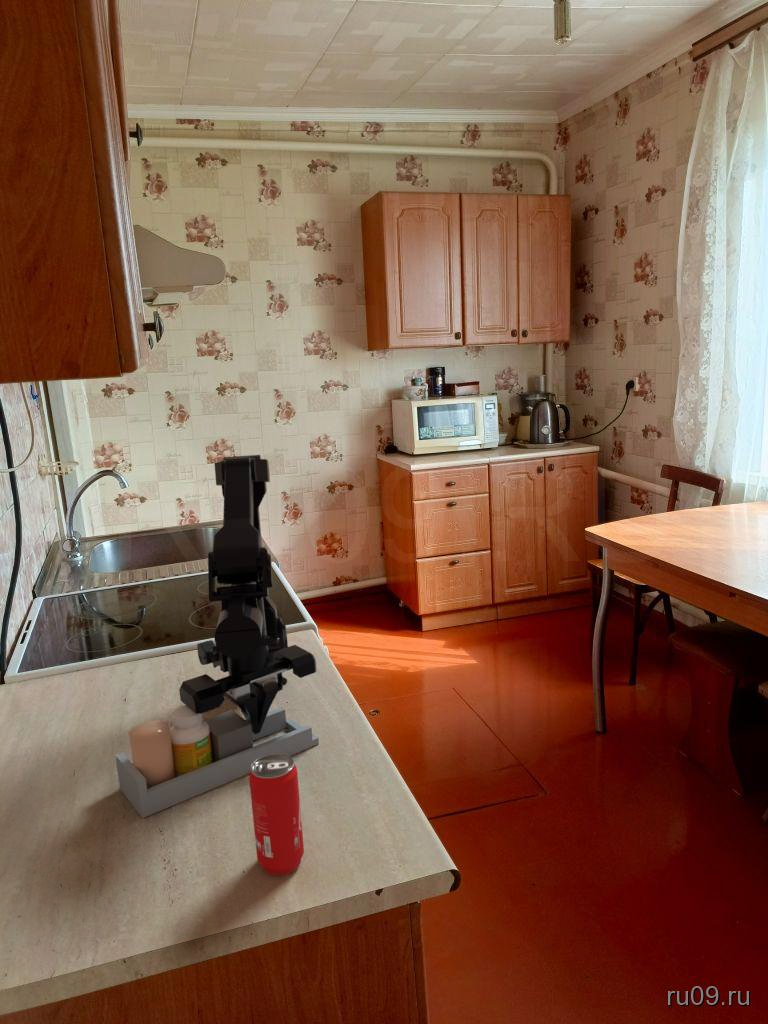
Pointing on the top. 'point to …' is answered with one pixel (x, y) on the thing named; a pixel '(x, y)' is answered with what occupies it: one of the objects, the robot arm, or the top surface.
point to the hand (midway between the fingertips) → (255, 732)
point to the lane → (212, 767)
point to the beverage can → (276, 813)
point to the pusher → (229, 734)
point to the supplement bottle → (189, 741)
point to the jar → (152, 751)
